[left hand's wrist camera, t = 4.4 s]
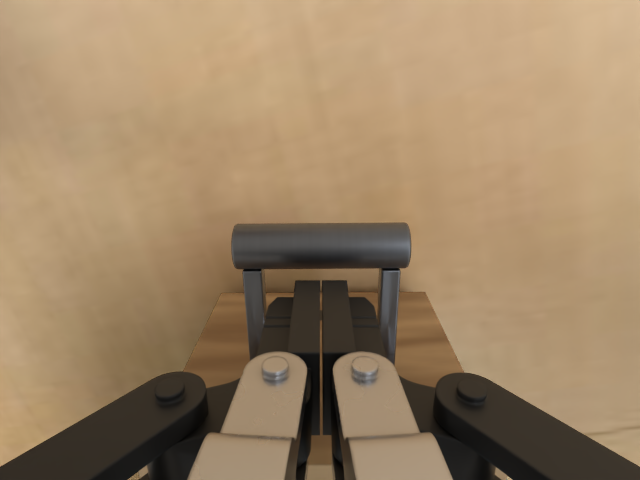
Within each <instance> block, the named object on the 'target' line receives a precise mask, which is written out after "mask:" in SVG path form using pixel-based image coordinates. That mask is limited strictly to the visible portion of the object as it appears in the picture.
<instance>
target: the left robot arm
mask: <svg viewBox="0 0 640 480" xmlns="http://www.w3.org/2000/svg"><path fill="white" fill-rule="evenodd" d="M322 402H323V435H331V438H332V474H333V480H501V479H500V478H499V477H497V476H496V475H495V470H496V468H498V469H499V470H500V471H502V472H503V473H505V474H506V475H507V476H509V477H510V478H511V479H513V480H640V467H639V466H637V465H636V464H634V463H632V462H630V461H629V460H627V459H625V458H624V457H622V456H620V455H618V454H617V453H615V452H613V451H611V450H610V449H608V448H606V447H604V446H603V445H601V444H599V443H598V442H596V441H594V440H592V439H591V438H589V437H587V436H585V435H584V434H582V433H580V432H578V431H577V430H575V429H573V428H571V427H570V426H568V425H566V424H565V423H563V422H561V421H559V420H558V419H556V418H554V417H552V416H551V415H549V414H547V413H545V412H544V411H542V410H540V409H539V408H537V407H535V406H533V405H532V404H530V403H528V402H526V401H525V400H523V399H521V398H519V397H518V396H516V395H514V394H512V393H511V392H509V391H507V390H506V389H504V388H502V387H500V386H499V385H497V384H495V383H493V382H492V381H490V380H488V379H486V378H484V377H481V376H479V375H475V374H471V373H462V372H460V373H451V374H448V375H445V376H443V377H442V378H441V379H439V381H438V382H437V384H436V388H435V387H430V386H426V385H422V384H418V383H414V382H411V381H409V380H406V379H404V378H402V377H401V376H399V375H398V373H397V371H396V368H395V366H394V365H393V364H392V362H390V361H389V360H388V359H387V357H386V353H385V349H384V345H383V341H382V337H381V332H380V328H379V324H378V320H377V316H376V311H375V307H374V305H373V304H372V303H371V302H370V301H369V300H368V299H366V298H365V297H349V295H348V287H347V281H346V280H322ZM311 435H320V281H295V289H294V297H277V298H276V299H275V300H274V301H273V302H272V303H271V304H270V305H269V306H268V308H267V313H266V319H265V321H264V328H263V330H262V335H261V339H260V343H259V348H258V352H257V356H256V357H255V358H253V359H252V360H251V361H250V362H248V364H247V365H246V366H245V368H244V371H243V373H242V376H241V378H239V379H237V380H235V381H232V382H230V383H226V384H222V385H218V386H213V387H209V388H206V385H205V382H204V380H203V379H202V378H201V377H200V376H198V375H196V374H194V373H190V372H171V373H167V374H163V375H161V376H158V377H156V378H154V379H152V380H150V381H148V382H147V383H145V384H143V385H141V386H140V387H138V388H136V389H134V390H133V391H131V392H129V393H128V394H126V395H124V396H122V397H121V398H119V399H117V400H115V401H114V402H112V403H110V404H108V405H107V406H105V407H103V408H101V409H100V410H98V411H96V412H95V413H93V414H91V415H89V416H88V417H86V418H84V419H82V420H81V421H79V422H77V423H75V424H74V425H72V426H70V427H69V428H67V429H65V430H63V431H62V432H60V433H58V434H56V435H55V436H53V437H51V438H49V439H48V440H46V441H44V442H43V443H41V444H39V445H37V446H36V447H34V448H32V449H30V450H29V451H27V452H25V453H23V454H22V455H20V456H18V457H16V458H15V459H13V460H11V461H10V462H8V463H6V464H4V465H3V466H1V467H0V480H127V479H129V478H130V477H131V476H133V475H134V474H135V473H137V472H138V471H140V470H141V469H142V468H144V467H145V466H146V465H147V469H148V473H147V474H145V475H144V476H143V477H141V478H140V479H139V480H307V474H308V457H309V455H310V452H311Z"/></svg>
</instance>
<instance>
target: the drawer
mask: <svg viewBox="0 0 640 480" xmlns="http://www.w3.org/2000/svg"><path fill="white" fill-rule="evenodd" d="M231 252H232V260H233V264H234V266H235V268H237V269H244V270H243V284H244V293H221V295H220V297H219V299H218V301H217V303H216V305H215V307H214V309H213V311H212V313H211V315H210V317H209V319H208V321H207V324H206V326H205V328H204V330H203V332H202V334H201V336H200V338H199V340H198V342H197V344H196V346H195V348H194V350H193V352H192V354H191V356H190V358H189V360H188V362H187V364H186V366H185V368H184V371H183V372H190V373H194V374H196V375H198V376H200V377H201V378H202V379H203V380H204V382H205V385H206V388H209V387H213V386H218V385H222V384H226V383H230V382H232V381H235V380H237V379H239V378H241V376H242V373H243V371H244V368H245V366H246V365H247V364H248V362H250V361H251V360H252V359H253V358H255V357H256V356H257V352H258V348H259V343H260V339H261V335H262V330H263V328H264V321H265V319H266V313H267V308H268V306H269V305H270V304H271V303H272V302H273V301H274V300H275V299H276V298H277V297H294V293H266V291H265V275H264V269H344V268H379V285H378V292H348V295H349V297H365V298H366V299H368V300H369V301H370V302H371V303H372V304H373V305H374V307H375V311H376V316H377V320H378V324H379V328H380V332H381V337H382V341H383V345H384V349H385V353H386V357H387V359H388V360H389V361H390V362H392V364H393V365H394V366H395V368H396V371H397V373H398V375H399V376H401V377H402V378H404V379H406V380H409V381H411V382H414V383H418V384H422V385H426V386H430V387H435V388H436V384H437V382H438V381H439V379H441V378H442V377H443V376H445V375H448V374H451V373H460V372H462V373H464V371H463V369H462V367H461V365H460V363H459V361H458V359H457V357H456V355H455V353H454V351H453V349H452V347H451V345H450V342H449V340H448V338H447V336H446V334H445V332H444V330H443V328H442V326H441V324H440V322H439V320H438V318H437V316H436V314H435V312H434V309H433V307H432V305H431V303H430V301H429V299H428V297H427V295H426V293H425V292H399V288H400V269H399V268H406V267H408V265H409V262H410V258H411V235H410V230H409V227H408V224H406V223H298V224H237V225H235V226H234V229H233V233H232V241H231ZM138 472H139V477H140V478H141V477H143V476H144V475H145V474H147V473H148V469H147V465H146V466H145V467H144V468H142V469H141V470H140V471H138ZM495 475H496V476H497V477H499V478H500V479H501V480H506V478H507V475H506V474H505V473H503V472H502V471H500V470H499V469H498V468H496V470H495ZM307 480H333V474H332V438H331V435H323V402H322V293H320V435H311V452H310V455H309V457H308V474H307Z"/></svg>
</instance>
